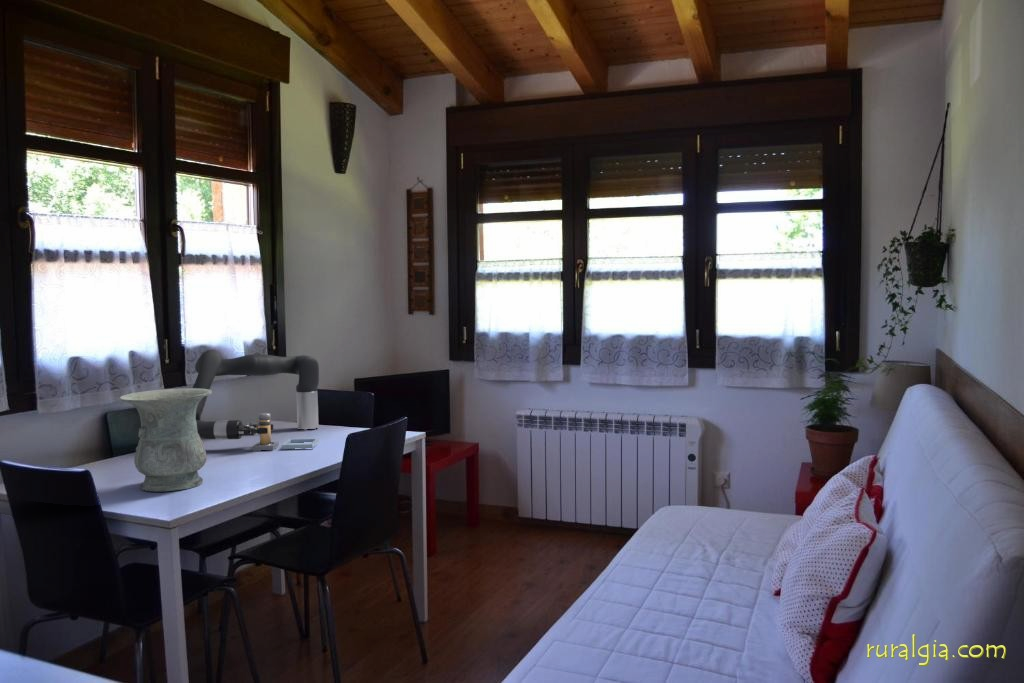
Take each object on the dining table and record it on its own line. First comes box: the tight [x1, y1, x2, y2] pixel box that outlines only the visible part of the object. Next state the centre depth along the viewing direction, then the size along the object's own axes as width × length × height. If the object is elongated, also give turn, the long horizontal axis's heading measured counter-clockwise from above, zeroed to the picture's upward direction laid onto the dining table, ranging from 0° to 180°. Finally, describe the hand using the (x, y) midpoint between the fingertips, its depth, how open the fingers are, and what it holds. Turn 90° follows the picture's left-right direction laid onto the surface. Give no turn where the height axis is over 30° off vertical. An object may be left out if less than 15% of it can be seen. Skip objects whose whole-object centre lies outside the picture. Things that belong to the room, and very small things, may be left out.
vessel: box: [119, 387, 213, 493], centre depth 244 cm, size 27×27×30 cm
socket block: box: [251, 441, 280, 452], centre depth 300 cm, size 8×8×2 cm
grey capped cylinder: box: [257, 412, 272, 446], centre depth 300 cm, size 5×5×14 cm
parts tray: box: [281, 437, 320, 450], centre depth 303 cm, size 12×12×2 cm
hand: (270, 428), depth 300 cm, fingers open, 7 cm apart
